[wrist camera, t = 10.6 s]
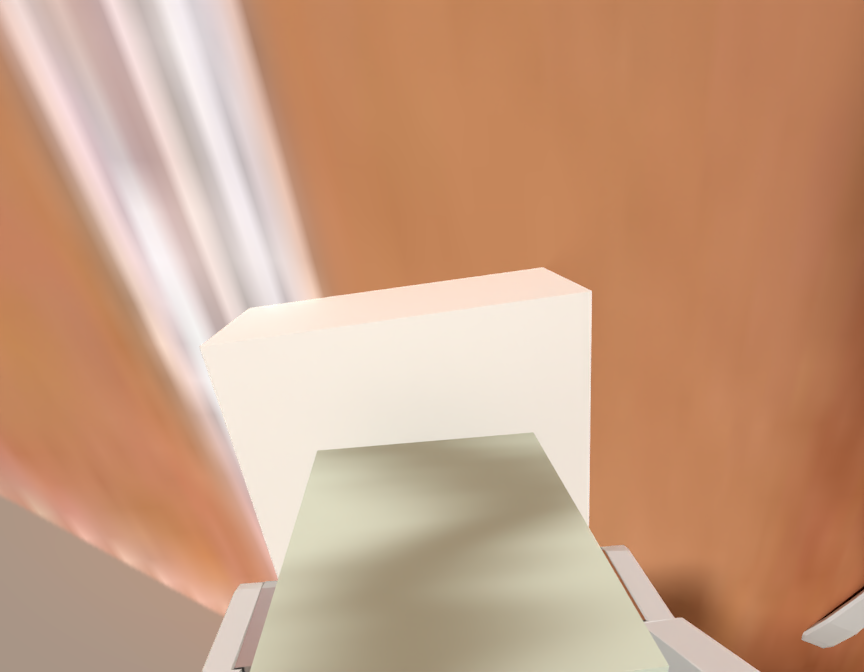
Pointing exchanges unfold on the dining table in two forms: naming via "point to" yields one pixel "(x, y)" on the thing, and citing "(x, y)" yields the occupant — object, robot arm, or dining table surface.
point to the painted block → (404, 379)
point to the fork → (838, 624)
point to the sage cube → (447, 568)
